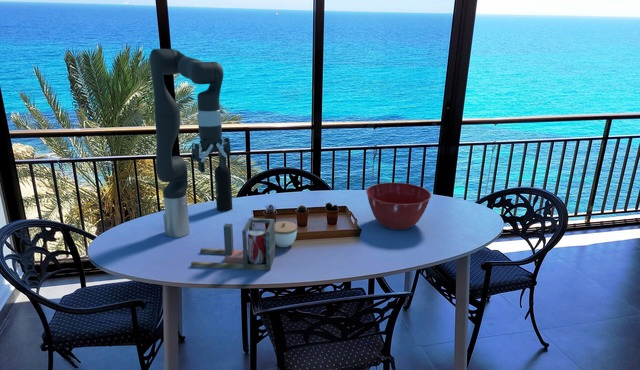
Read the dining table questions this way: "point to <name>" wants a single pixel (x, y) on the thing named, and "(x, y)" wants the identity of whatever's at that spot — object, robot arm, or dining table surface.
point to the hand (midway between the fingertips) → (212, 169)
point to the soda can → (257, 246)
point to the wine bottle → (223, 188)
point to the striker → (231, 247)
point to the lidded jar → (285, 233)
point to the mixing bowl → (397, 204)
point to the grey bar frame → (245, 249)
